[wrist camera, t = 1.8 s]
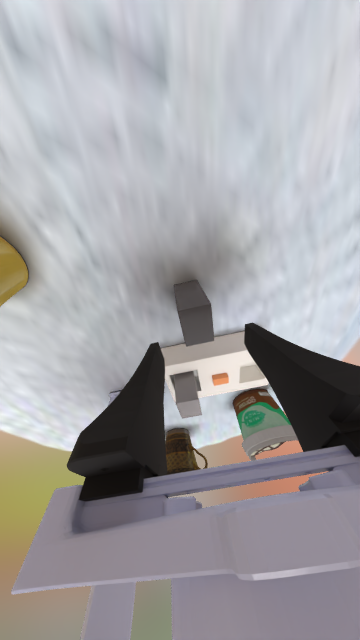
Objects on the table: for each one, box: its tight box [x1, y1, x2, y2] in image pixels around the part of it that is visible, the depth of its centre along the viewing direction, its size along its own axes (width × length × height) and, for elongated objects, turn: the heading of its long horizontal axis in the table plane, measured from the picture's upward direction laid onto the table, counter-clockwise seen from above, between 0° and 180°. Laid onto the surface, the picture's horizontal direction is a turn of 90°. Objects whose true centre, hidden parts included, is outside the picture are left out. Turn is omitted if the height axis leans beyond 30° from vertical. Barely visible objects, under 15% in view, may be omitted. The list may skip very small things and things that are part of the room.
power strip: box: [161, 331, 268, 402], centre depth 25 cm, size 17×10×5 cm, turn 101°
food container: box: [233, 389, 298, 461], centre depth 31 cm, size 12×6×10 cm, turn 147°
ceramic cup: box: [165, 429, 207, 475], centre depth 38 cm, size 13×10×10 cm
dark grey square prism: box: [174, 280, 214, 347], centre depth 17 cm, size 3×4×7 cm
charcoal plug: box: [174, 371, 202, 418], centre depth 23 cm, size 3×4×7 cm
